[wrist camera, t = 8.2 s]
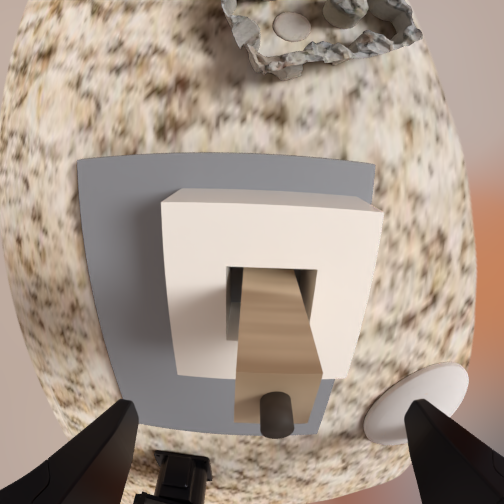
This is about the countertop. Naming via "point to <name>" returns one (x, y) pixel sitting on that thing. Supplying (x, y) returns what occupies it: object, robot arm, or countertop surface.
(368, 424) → the candlestick
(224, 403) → the board
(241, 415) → the peg
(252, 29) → the egg carton
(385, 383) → the countertop surface
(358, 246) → the holder
